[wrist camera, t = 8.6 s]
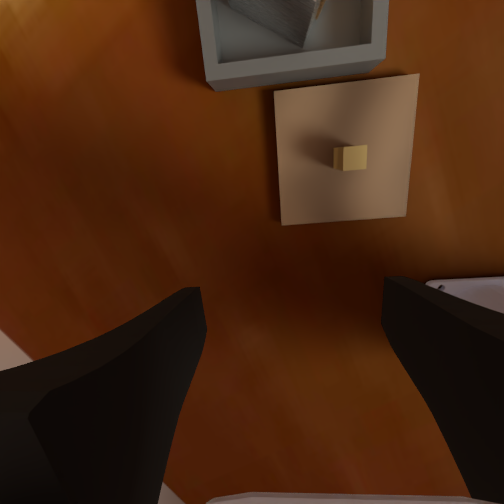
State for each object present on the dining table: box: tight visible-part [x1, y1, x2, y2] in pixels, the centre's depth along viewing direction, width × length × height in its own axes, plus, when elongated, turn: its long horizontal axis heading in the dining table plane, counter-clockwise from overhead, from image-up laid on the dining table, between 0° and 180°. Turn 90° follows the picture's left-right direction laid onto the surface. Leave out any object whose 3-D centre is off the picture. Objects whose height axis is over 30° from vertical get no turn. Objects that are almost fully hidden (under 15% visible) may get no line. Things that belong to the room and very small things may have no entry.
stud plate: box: [274, 74, 419, 225], centre depth 16 cm, size 8×8×3 cm
